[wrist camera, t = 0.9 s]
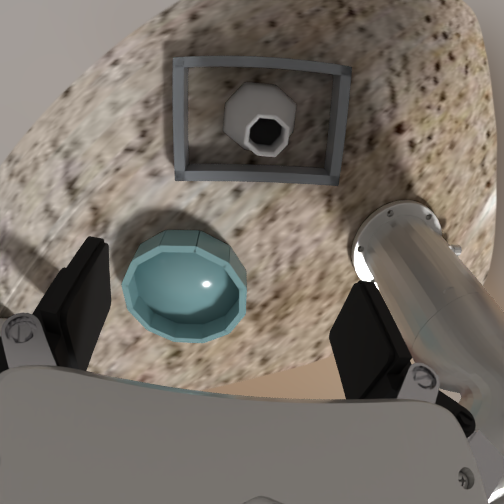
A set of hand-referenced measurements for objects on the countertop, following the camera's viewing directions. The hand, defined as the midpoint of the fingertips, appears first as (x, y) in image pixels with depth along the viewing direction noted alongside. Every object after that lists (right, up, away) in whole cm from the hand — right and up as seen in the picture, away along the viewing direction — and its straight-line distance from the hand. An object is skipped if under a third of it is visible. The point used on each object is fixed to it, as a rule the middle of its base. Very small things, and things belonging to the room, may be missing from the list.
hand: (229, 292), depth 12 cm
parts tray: (+2, +15, +18) cm, 23 cm away
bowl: (-7, -2, +28) cm, 29 cm away
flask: (+2, +15, +18) cm, 23 cm away
